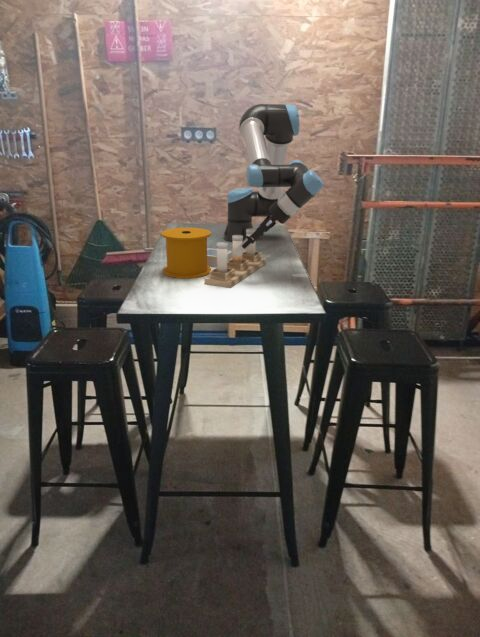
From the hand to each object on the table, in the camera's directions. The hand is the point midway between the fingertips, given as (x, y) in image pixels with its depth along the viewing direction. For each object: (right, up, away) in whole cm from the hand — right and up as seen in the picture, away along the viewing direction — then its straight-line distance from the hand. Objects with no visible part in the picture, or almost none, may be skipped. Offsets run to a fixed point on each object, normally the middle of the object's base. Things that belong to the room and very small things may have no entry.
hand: (241, 248), depth 176 cm
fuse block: (-2, -8, +5) cm, 10 cm away
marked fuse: (-2, -7, +4) cm, 8 cm away
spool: (-20, -8, +6) cm, 23 cm away
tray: (-11, -3, +18) cm, 21 cm away
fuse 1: (-7, -11, -7) cm, 15 cm away
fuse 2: (+4, -2, +15) cm, 16 cm away
